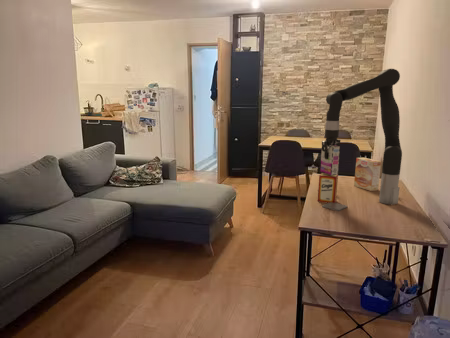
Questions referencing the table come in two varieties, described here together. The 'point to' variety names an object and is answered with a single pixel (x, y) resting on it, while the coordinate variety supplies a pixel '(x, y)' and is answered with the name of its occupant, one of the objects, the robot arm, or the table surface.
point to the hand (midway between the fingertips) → (330, 158)
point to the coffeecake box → (367, 173)
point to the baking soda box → (327, 188)
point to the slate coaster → (335, 206)
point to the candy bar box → (330, 161)
